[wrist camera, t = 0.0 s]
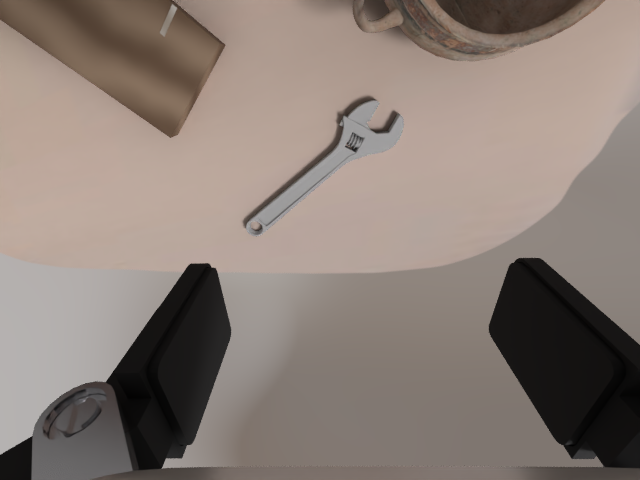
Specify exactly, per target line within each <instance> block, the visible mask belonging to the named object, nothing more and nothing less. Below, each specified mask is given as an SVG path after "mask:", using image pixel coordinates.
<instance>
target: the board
mask: <svg viewBox="0 0 640 480" xmlns="http://www.w3.org/2000/svg"><path fill="white" fill-rule="evenodd" d="M0 20H2V21H3V22H5V23H6V24H8V25H9V26H10V27H12V28H13V29H15V30H16V31H18V32H19V33H20V34H22V35H23V36H25V37H26V38H28V39H29V40H31V41H32V42H33V43H35V44H36V45H38V46H39V47H41V48H42V49H44V50H45V51H46V52H48V53H49V54H51V55H52V56H54V57H55V58H56V59H58V60H59V61H61V62H62V63H64V64H65V65H67V66H68V67H69V68H71V69H72V70H74V71H75V72H77V73H78V74H80V75H81V76H82V77H84V78H85V79H87V80H88V81H90V82H91V83H92V84H94V85H95V86H97V87H98V88H100V89H101V90H103V91H104V92H105V93H107V94H108V95H110V96H111V97H113V98H114V99H116V100H117V101H118V102H120V103H121V104H123V105H124V106H126V107H127V108H128V109H130V110H131V111H133V112H134V113H136V114H137V115H139V116H140V117H141V118H143V119H144V120H146V121H147V122H149V123H150V124H152V125H153V126H154V127H156V128H157V129H159V130H160V131H162V132H163V133H164V134H166V135H167V136H169V137H170V138H171V137H173V136H176V135H178V133H179V131H180V129H181V128H182V126H183V124H184V122H185V120H186V118H187V116H188V114H189V113H190V111H191V109H192V107H193V105H194V103H195V101H196V99H197V97H198V96H199V94H200V92H201V90H202V88H203V86H204V84H205V82H206V81H207V79H208V77H209V75H210V73H211V71H212V69H213V67H214V65H215V64H216V62H217V60H218V58H219V56H220V54H221V52H222V50H223V49H224V47H225V44H224V43H222V42H221V41H220V40H219V39H218V38H216V37H215V36H214V35H213V34H212V33H210V32H209V31H208V30H207V29H206V28H205V27H203V26H202V25H201V24H200V23H199V22H197V21H196V20H195V19H194V18H193V17H191V16H190V15H189V14H188V13H187V12H186V11H184V10H183V9H182V8H181V7H180V6H178V5H177V4H176V3H175V2H174V1H172V0H0Z"/></svg>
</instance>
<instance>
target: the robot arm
mask: <svg viewBox="0 0 640 480" xmlns="http://www.w3.org/2000/svg"><path fill="white" fill-rule="evenodd" d="M489 333H490V335H491V337H492V339H493V341H494V342H495V344H496V345H497V347H498V349H499V350H500V352H501V353H502V355H503V357H504V358H505V360H506V362H507V363H508V365H509V366H510V368H511V370H512V371H513V373H514V374H515V376H516V378H517V379H518V381H519V382H520V384H521V385H522V387H523V389H524V390H525V392H526V394H527V395H528V397H529V399H530V400H531V402H532V403H533V405H534V406H535V408H536V410H537V411H538V413H539V414H540V416H541V418H542V419H543V421H544V423H545V424H546V426H547V428H548V429H549V431H550V432H551V434H552V435H553V437H554V438H555V440H556V441H557V442H558V443H559V444H561V445H564V447H565V449H566V450H567V452H568V453H569V455H570V457H571V458H572V459H594V458H595V457H596V456H597V457H598V458H599V460H600V461H601V463H602V464H603V467H494V466H489V467H488V466H484V467H483V466H479V467H478V466H470V467H469V466H268V467H267V466H252V467H251V466H239V467H197V468H196V467H194V468H165V469H161V468H162V466H163V464H164V461H165V459H166V458H182V457H183V454H184V452H185V449H186V446H187V445H191V444H192V443H193V441H194V439H195V437H196V434H197V431H198V428H199V425H200V423H201V420H202V417H203V414H204V411H205V409H206V406H207V403H208V400H209V397H210V394H211V392H212V389H213V386H214V383H215V380H216V377H217V375H218V372H219V369H220V366H221V363H222V360H223V358H224V355H225V352H226V349H227V346H228V343H229V341H230V337H231V327H230V322H229V318H228V314H227V310H226V306H225V303H224V298H223V294H222V290H221V285H220V282H219V277H218V273H217V270H216V268H211V266H210V264H208V263H205V264H190V265H189V266H188V267H187V268H186V270H185V271H184V273H183V274H182V275H181V277H180V278H179V280H178V281H177V283H176V284H175V285H174V287H173V288H172V290H171V291H170V293H169V294H168V295H167V297H166V298H165V300H164V301H163V303H162V304H161V305H160V307H159V308H158V309H157V310H156V312H155V313H154V314H153V316H152V317H151V319H150V320H149V321H148V323H147V324H146V326H145V327H144V329H143V330H142V331H141V333H140V334H139V336H138V337H137V339H136V340H135V342H134V343H133V344H132V346H131V347H130V348H129V350H128V351H127V353H126V354H125V356H124V357H123V358H122V360H121V361H120V363H119V364H118V366H117V367H116V368H115V370H114V371H113V373H112V374H111V376H110V377H109V378H108V380H107V381H106V383H105V382H90V383H85V384H83V385H80V386H78V387H75V388H73V389H71V390H70V391H68V392H66V393H64V394H63V395H61V396H60V397H59V398H57V399H56V400H55V401H54V402H53V403H51V404H50V405H49V406H48V408H47V409H46V410H45V411H44V412H43V413H42V414H41V416H40V417H39V419H38V421H37V422H36V424H35V427H34V431H33V436H32V437H30V438H28V439H27V440H25V441H23V442H21V443H20V444H18V445H16V446H15V447H13V448H11V449H9V450H8V451H6V452H4V453H3V454H1V455H0V480H640V345H639V344H638V343H637V342H636V341H635V340H634V339H632V338H631V337H630V336H629V335H628V334H627V333H626V332H624V331H623V330H622V329H621V328H620V327H619V326H618V325H616V324H615V323H614V322H613V321H611V319H610V318H608V317H607V316H606V315H605V314H604V313H603V312H601V311H600V310H599V309H598V308H597V307H596V306H595V305H594V304H592V303H591V302H590V301H589V300H588V299H587V298H586V297H584V296H583V295H582V294H581V293H580V292H579V291H578V290H576V289H575V288H574V287H573V286H572V285H571V284H570V283H568V282H567V281H566V280H565V279H564V278H563V277H562V276H560V275H559V274H558V273H557V272H556V271H555V270H554V269H552V268H551V267H550V266H549V265H548V264H547V263H545V262H544V261H543V260H542V259H540V258H519V259H517V260H516V261H515V262H514V263H511V264H510V266H509V268H508V271H507V274H506V277H505V280H504V283H503V286H502V288H501V291H500V294H499V297H498V300H497V303H496V306H495V309H494V312H493V315H492V318H491V321H490V324H489Z"/></svg>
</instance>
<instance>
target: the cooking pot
mask: <svg viewBox="0 0 640 480" xmlns="http://www.w3.org/2000/svg"><path fill="white" fill-rule="evenodd" d="M364 1H365V0H354V3H353V15H354V19H355V21H356V23H357V25H358V27H359V28H360V29H361V30H362V31H364V32H367V33H376V32H380V31H384V30H386V29H389V28H392V27H395V26H399V27H400V28H401V29H402V31H403V32H404V33H405V34H406V36H407V37H409V38H410V39H411V40H412V41H413V42H414V43H416V44H417V45H418V46H419V47H420V48H422V49H424V50H426V51H428V52H430V53H432V54H434V55H436V56H439V57H443V58H446V59H450V60H456V61H479V60H486V59H493V58H496V57H499V56H502V55H505V54H508V53H511V52H514V51H516V50H518V49H520V48H522V47H524V46H526V45H529V44H532V43H535V42H538V41H541V40H544V39H547V38H550V37H552V36H554V35H556V34H557V33H559V32H561V31H563V30H565V29H567V28H569V27H571V26H573V25H574V24H575V23H577V22H578V21H580V20H581V19H583V18H584V17H585V16H587V15H588V14H590V13H591V12H592V11H594V10H595V9H596V8H597V7H598V6H600V5H601V4H602V3H603V2H604V1H605V0H384V1H385V3H386V5H387V7H388V9H389V11H390V12H389V13H388V14H387V15H385V16H384V17H382V18H380V19H378V20H374V21H370V20H368V18H367V17H366V14H365V12H364V9H363V4H364Z"/></svg>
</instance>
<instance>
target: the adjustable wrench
mask: <svg viewBox="0 0 640 480" xmlns="http://www.w3.org/2000/svg"><path fill="white" fill-rule="evenodd" d="M379 103H380V102H378V101H377V100H370V101H367V102H364V103H362V104H360V105H359V106H357V107H356V108H355V109H353V110H352V111H351V112H350V113H349V114H348V116H345V115H343V119H342V120H341V122H340V124H339V125H340V126H342V127H343V131H342V134H341V138H340V140H339V142H338V144H337V145H336V147H335V148H334V149H333V150H332V151H331V152H330V153H329V154H327V155H326V156H325V157H324V158H323V159H321V160H320V161H319V162H318V163H317V164H315V165H314V166H313V167H312V168H311V169H309V170H308V171H307V172H306V173H305V174H303V175H302V176H301V177H300V178H299V179H297V180H296V181H295V182H294V183H293V184H291V185H290V186H289V187H288V188H287V189H285V190H284V191H283V192H282V193H281V194H279V195H278V196H277V197H276V198H275V199H273V200H272V201H271V202H270V203H269V204H267V205H266V206H265V207H264V208H263V209H261V210H260V211H259V212H258V213H257V214H255V215H254V216H253V217H252V218H251V219H250V220H249V221H248V223H247V225H246V230H247V232H248V233H249V234H251V235H252V236H260V235H262V234H263V233H264V232H265V231H266V230H268V229H269V228H270V227H271V226H272V225H274V224H275V223H276V222H277V221H278V220H279V219H281V218H282V217H283V216H284V215H285V214H287V213H288V212H289V211H290V210H291V209H292V208H294V207H295V206H296V205H297V204H298V203H299V202H301V201H302V200H303V199H304V198H305V197H307V196H308V195H309V194H310V193H311V192H312V191H314V190H315V189H316V188H317V187H318V186H320V185H321V184H322V183H323V182H324V181H325V180H327V179H328V178H329V177H330V176H331V175H332V174H334V173H335V172H336V171H337V170H338V169H340V168H341V167H342V166H343V165H345V164H346V163H348V162H350V161H352V160H355V159H358V158H361V157H364V156H367V155H371V154H376V153H381V152H384V151H387V150H388V149H390V148H392V147H393V146H394V145H395V144H396V143H397V141H398V140H399V139H400V136H401V134H402V131H403V127H404V123H403V117H402V116H401V115H400V114H399V113H398V114H397V116H396V118H395V119H394V121H393V123H392V124H391V126H390V128H389V130H388V131H384V132H374V131H372V130H371V129H370V128H369V126H368V124H367V121H370V120H371V118H372V116H373V114H374V112H375V110H376V109H377V107H378V105H379ZM346 143H348V146H349V144H351V146H350V147H352V146H354V147H353V149H354V148H355V147H356V150H353V149H351V148H349V147H347V146H345V145H346ZM253 221H256V222H259V223H260V224H261V225H262V229H261V230H259V231H255V230H253V229H252V228H251V223H252V222H253Z"/></svg>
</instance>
